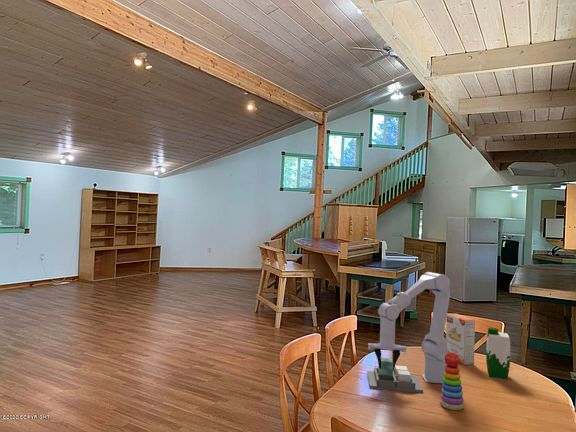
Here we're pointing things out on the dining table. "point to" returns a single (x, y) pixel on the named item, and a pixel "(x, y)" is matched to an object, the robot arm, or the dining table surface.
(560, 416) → the dining table surface
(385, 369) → the teal block
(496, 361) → the milk carton
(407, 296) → the robot arm
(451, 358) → the stacking toy
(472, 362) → the cracker box
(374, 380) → the puzzle board
